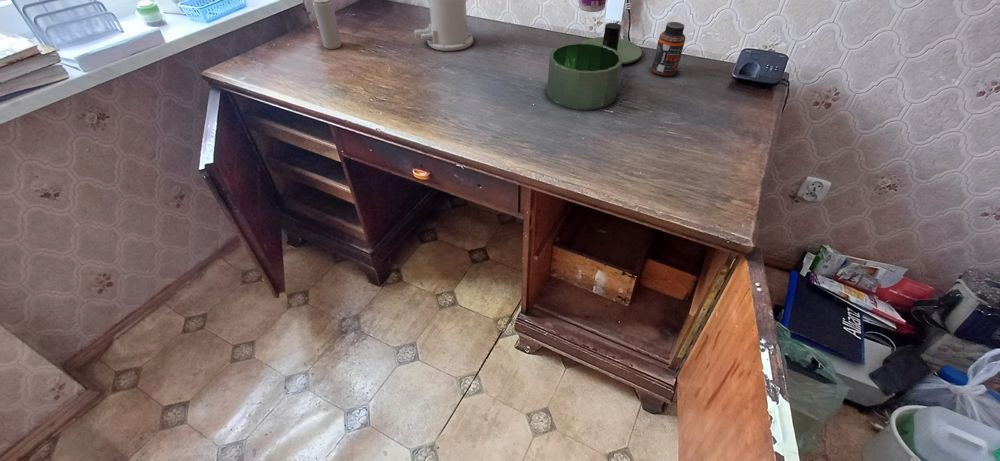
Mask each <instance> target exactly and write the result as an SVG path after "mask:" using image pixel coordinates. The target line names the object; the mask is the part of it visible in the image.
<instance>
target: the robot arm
mask: <svg viewBox="0 0 1000 461" xmlns="http://www.w3.org/2000/svg"><path fill="white" fill-rule="evenodd" d="M428 5H429V13H430V14H429V15H430V23H428V27H425V28H424V29H414V31H413V32H414V37H415V38H420V39H421V40H426V41H427V42H426V43H427V45H428V46H429V47H430V48H432V49H434V50H437V51H443V52H444V51H445V52H454V51H460V50H464V49H467V48H469V47H470V46H471V45H472V44H474V36H473V35H472V34H471V33H470V32H468V20H467V19H468V18H467V0H428Z"/></svg>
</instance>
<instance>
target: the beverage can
mask: <svg viewBox="0 0 1000 461" xmlns="http://www.w3.org/2000/svg"><path fill="white" fill-rule="evenodd" d="M312 6H313V10H314V14H315V17H316V18H315V19H316V22H317V25H318V29H319V33H320V37H321V40H322V44H323V46H324V48H326V49H327V50H336V49H339V48H341V46H342V44H343V43H342V38H341V34H340V33H341V32H340V28H339V24H338V21H337V17H336V12H335V6H334V4H333V0H312Z"/></svg>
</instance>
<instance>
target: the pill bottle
mask: <svg viewBox="0 0 1000 461" xmlns="http://www.w3.org/2000/svg"><path fill="white" fill-rule="evenodd" d="M606 3H607V0H578V8H579V9H580V10H582V11H584V12H586V13H587V12H588V13H599V12H602V11H604V10H605V8H606Z"/></svg>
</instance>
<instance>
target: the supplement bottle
mask: <svg viewBox="0 0 1000 461" xmlns="http://www.w3.org/2000/svg"><path fill="white" fill-rule="evenodd" d="M684 31H685V24H684V23H682V22H678V21H669V22H667V23H666V25H665V30H663V31H662V32H661V33H660V34H659V37H658V41H657V45H656V49H655V53H654V57H653V60H652V64H651V70H652V72H653V73H654V74H656V75H658V76H662V77H671V76H674V75H675V74H676V73H677V70H678V68H679V64H680V61H681V56H682V54H683V50H684V46H685V42H686V35H685V34H684Z"/></svg>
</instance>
